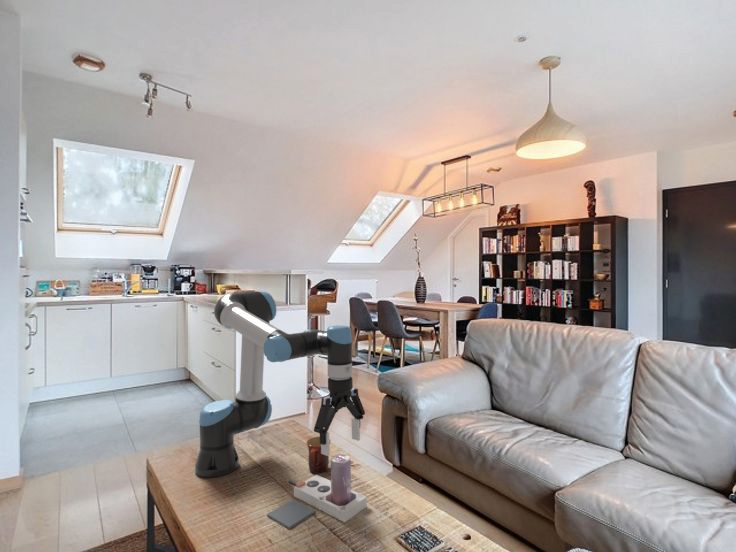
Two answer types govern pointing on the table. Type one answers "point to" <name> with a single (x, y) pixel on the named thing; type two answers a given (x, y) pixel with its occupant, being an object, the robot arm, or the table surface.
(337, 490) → the beverage can
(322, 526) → the table surface
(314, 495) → the strip dock
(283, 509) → the coaster
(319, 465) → the mug
